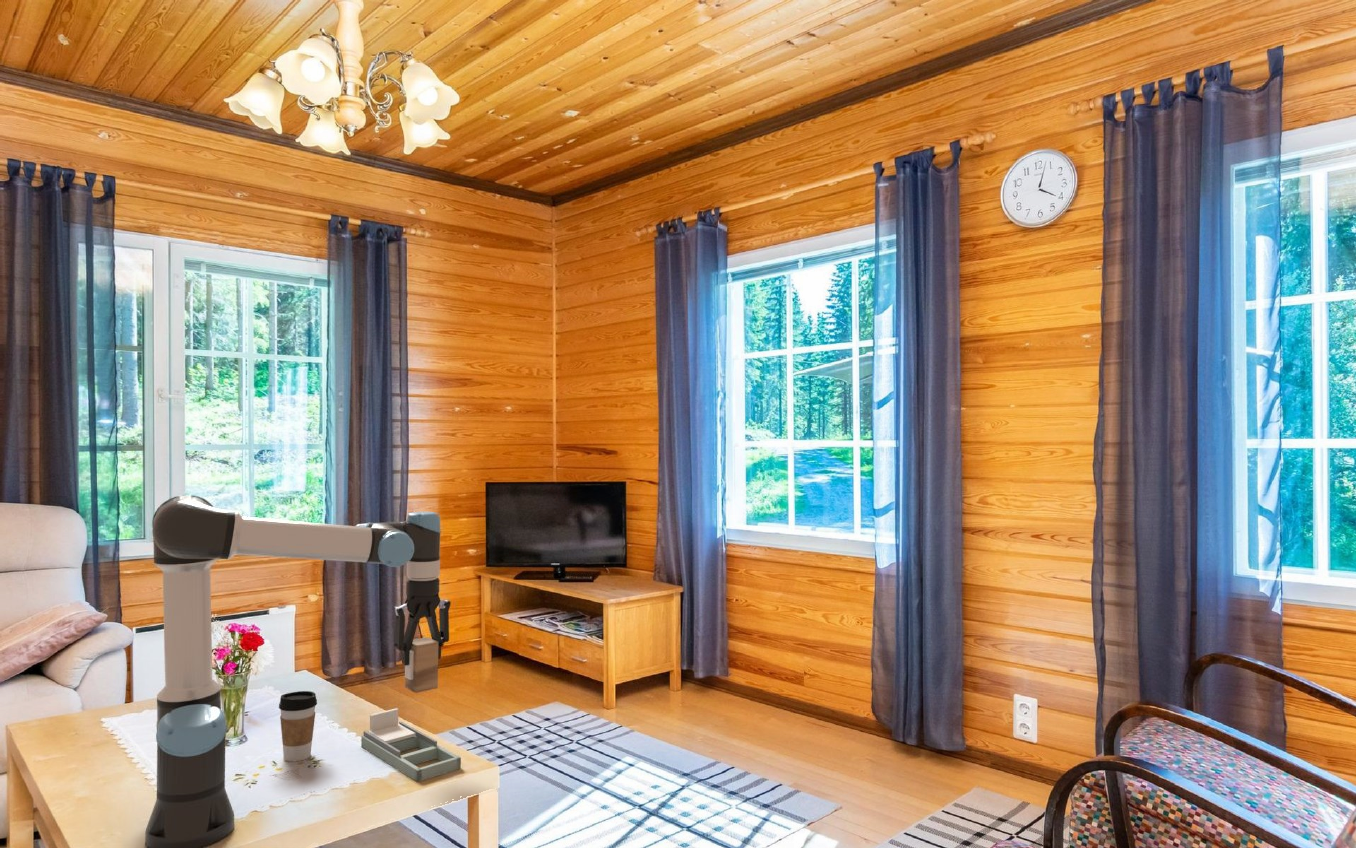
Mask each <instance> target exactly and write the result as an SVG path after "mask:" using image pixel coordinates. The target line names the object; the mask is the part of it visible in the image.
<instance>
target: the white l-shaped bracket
mask: <svg viewBox="0 0 1356 848" xmlns="http://www.w3.org/2000/svg"><path fill="white" fill-rule="evenodd" d="M367 731H368V732H369V733H371V734H373V735H374V736H376V737H378V738H379V739H381V740H383V741H384V742H386V743H388V744H389V743H393V742H396V741H400V740H404V739H407V738H411V737H415V734H416V733H414V732H413V731H411V730H409V729H407V728H405V727H404V726H402V725H400V724H399V708H398V707H396V708H392V709H389V710H384V711H383V710H382V711H380V712H375V713H371V714H370V715H369V730H367Z"/></svg>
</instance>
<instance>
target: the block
mask: <svg viewBox="0 0 1356 848" xmlns="http://www.w3.org/2000/svg"><path fill="white" fill-rule="evenodd" d="M411 651H414V661H413V680H409V679H407V678H405V677H404V688H406V689H407V690H409V691H411V692H413V693H415V694H417V693H422V692H427V691H431V690H435V689H439V687H438V686H439V685H438V681H439V659H438V641H435V640H433V639H432V637H431V638H430V637H428V636H426V637H422V638H421V637H420V638H414V639H413V643H412V646H411Z"/></svg>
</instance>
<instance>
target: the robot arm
mask: <svg viewBox="0 0 1356 848" xmlns="http://www.w3.org/2000/svg"><path fill="white" fill-rule="evenodd" d="M151 527H152V539H153V540H152V541H153V565H154V566H156V567H157V568H158V569H160V570H161V572H162V593H163V594H162V595H163V596H162V597H163V600H162V601H163V602H162V603H163V644H164V645H163V646H164V647H163V648H164V650H163V651H164V687H163V688H162V689H160V690H159V692H158V693H157V694H156V709H157V710H156V713H157V714H156V718H157V719H156V733H155V734H156V735H155V738H156V739H155V741H156V743H157V745H156V798H155V803H154V806H153V808H152V812H151V814H150V817H149V818H148V819H149V820H148V823H147V826H146V828H145V838H144V840H145V841H144V843H145V846H146V847H147V848H204V847H207V846H209V845H211V844H214V843H217V842H219V841H220V840H222V839H224V838H226V837H227V836H229V835H230V834H231V832H232V831H233V830H234V827H235V812H234V808H233V807H232V804H231V801H230V799H229V796H228V793H227V791H226V737H227V736H226V733H227V730H228V723H227V721H226V715H225V713H224V711H223V710H222V690H221V689H222V688H221V687H222V686H221V685H220V684H219V683H218V682H217V681H215V680H214V679H213V643H212V642H213V639H212V638H213V637H212V634H213V633H212V598H211V596H212V593H211V592H212V591H211V590H212V589H211V587H212V585H211V567H212V565H214V564H215V563H216V561H217V560H230V559H232V558H233V557H234V556H236V555H237V556H252V557H268V558H269V557H271V558H287V559H288V558H289V559H303V560H304V559H305V560H321V561H338V562H354V563H369V564H379V565H384V566H387V567H392V568H399V567H400V568H401V567H402V566H404V565H406V577H407V579H406V580H405V581H406V587H405V591H406V592H405V593H406V600H405V601H404V604H401V605H399V606H398V605H397V606H394V607H393V614H394V616H395V617H394V620H395V622H394V636H393V637H394V638H393V648H394V649H396V650H398V651H401V664H402V665H403V666H404V679H405V678H407V679H409V680H413V661H414V651H411V646H412V643H413V640H414V639H415V635H416V631H417V628H418V624H419V623H420V621H421V619H423V618H425V619H426V621H427V625H428V630H429V634H430V636H431V639H433V640H435V641H438V660H441V658H442V648H443V647H444V645H445V643H448V642H449V641H450V621H449V620H450V616H449V613H450V607H451V603H452V602H451V601H450V600H447V599H445V598H444V599H441V598H440V596H439V593H440V578H439V577H440V576H441V572H440V571H441V559H440V557H441V555H440V553H441V551H440V550H441V533H442V531H441V530H442V529H441V516H440V515H439V513H437V512H435V511H412V512H409V513H408V514H407V517H406V520H403V521H397V522H396V521H395V522H394V521H393V522H367V523H358V524H356V525H353V526H352V525H344V524H343V525H342V524H333V523H332V524H331V523H318V522H307V521H297V520H296V521H294V520H284V519H273V518H262V517H261V518H260V517H250V516H248V517H247V516H242V515H241V514H240V513H239V511H237V510H227V509H222V508H217V507H215V506H214V505H213V504H211V503H210V501H208V500H207V499H205V498H204V497H200V496H197V495H193V494H191V495H190V494H183V495H176V496H173V497H171V498H168V499H166V500H165V501H163V502H162V503H161V504H160V505H159V506H158V508H156V510H155V512H154V514H153V515H152V522H151ZM437 608H439V609H438V611H439V612H438V615H439V616H438V617H439V619H438V621H439V624H438V621H437V613H436V610H437ZM407 612H409V613H408V617H407V625H406V626H405V624H406V617H405V615H406V614H407Z"/></svg>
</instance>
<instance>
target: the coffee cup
mask: <svg viewBox="0 0 1356 848" xmlns="http://www.w3.org/2000/svg"><path fill="white" fill-rule="evenodd" d="M317 705H318V700H317V696H316V693H315V692H313V691H310V690H309V691H308V690H302V691H301V690H300V691H294V692H287V693H284V694H281V695H280V701H279V704H278V708H279V710H280V716H279V718H280V730H281V740H282V741H281V742H282V753H283V760H284V761H287V762H300V761H304V760H306V759H309V758H310V757H311V755H312V745H313V744H312V743H313V737H314V730H315V729H314V728H315V718H316V711H315V710H316V706H317Z"/></svg>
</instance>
